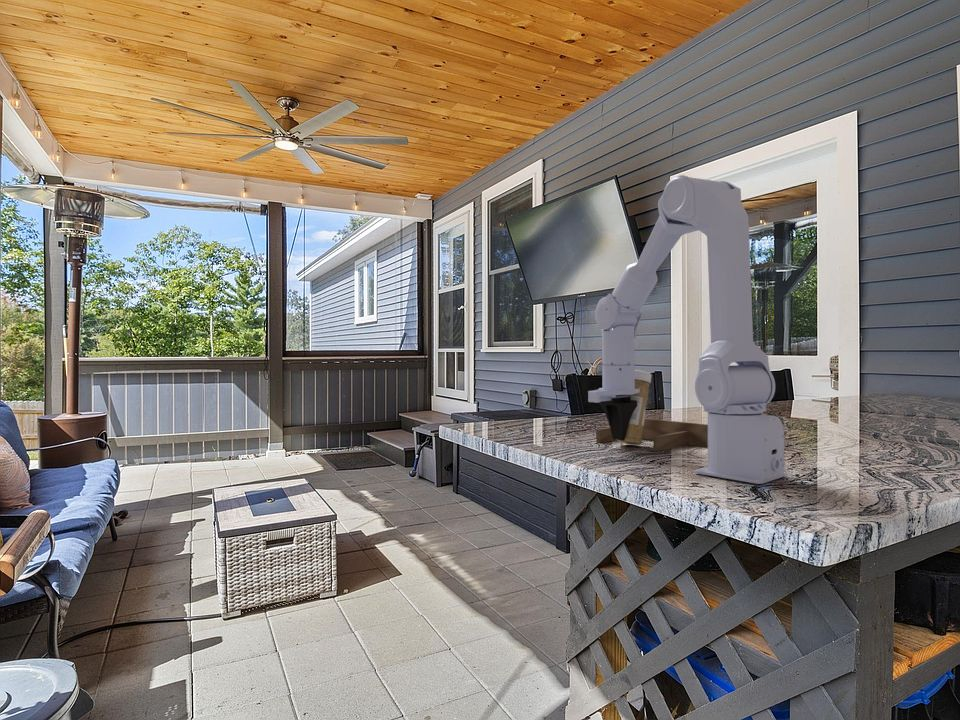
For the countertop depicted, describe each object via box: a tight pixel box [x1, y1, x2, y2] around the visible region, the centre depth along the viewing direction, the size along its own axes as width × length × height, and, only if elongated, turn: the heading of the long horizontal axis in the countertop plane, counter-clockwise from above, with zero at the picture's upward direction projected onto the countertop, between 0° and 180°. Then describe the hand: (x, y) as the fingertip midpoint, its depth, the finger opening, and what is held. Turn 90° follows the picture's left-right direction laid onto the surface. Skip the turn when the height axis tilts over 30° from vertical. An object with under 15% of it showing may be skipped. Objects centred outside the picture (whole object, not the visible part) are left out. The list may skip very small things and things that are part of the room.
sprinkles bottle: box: [617, 369, 653, 446], centre depth 109 cm, size 5×5×13 cm
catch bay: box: [595, 417, 708, 452], centre depth 111 cm, size 22×11×4 cm, turn 39°
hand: (618, 439), depth 106 cm, fingers closed
